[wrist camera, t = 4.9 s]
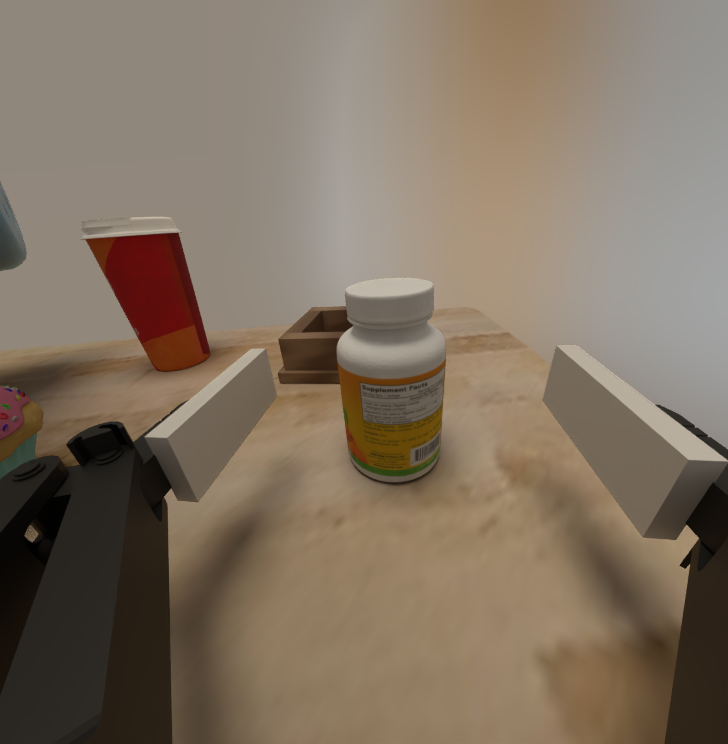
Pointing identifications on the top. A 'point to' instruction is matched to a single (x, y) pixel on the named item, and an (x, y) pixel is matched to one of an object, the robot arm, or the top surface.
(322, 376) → the socket block
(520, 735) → the top surface
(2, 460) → the cupcake
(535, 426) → the top surface
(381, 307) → the supplement bottle
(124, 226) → the paper cup
